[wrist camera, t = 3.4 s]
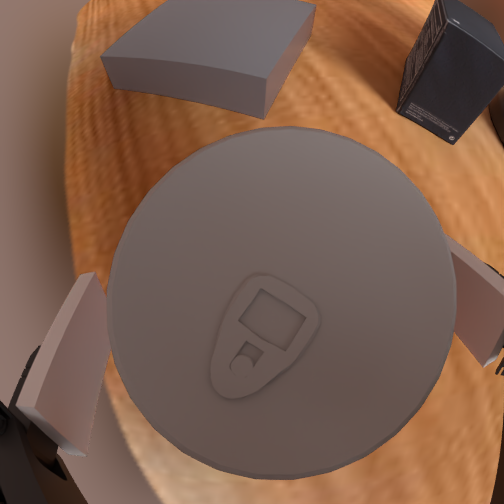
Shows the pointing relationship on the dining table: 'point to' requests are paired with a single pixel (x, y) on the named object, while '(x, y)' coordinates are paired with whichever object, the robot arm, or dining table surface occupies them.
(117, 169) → the dining table surface
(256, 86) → the slate stand
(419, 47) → the small box
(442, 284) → the canned food
